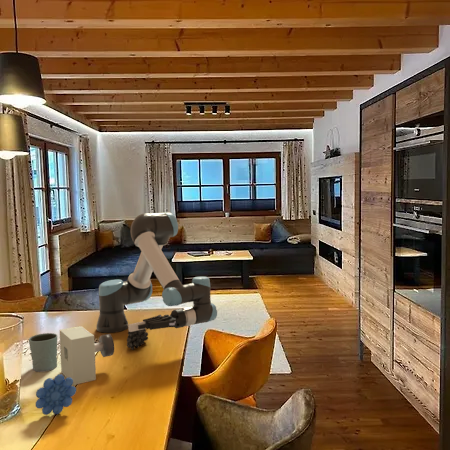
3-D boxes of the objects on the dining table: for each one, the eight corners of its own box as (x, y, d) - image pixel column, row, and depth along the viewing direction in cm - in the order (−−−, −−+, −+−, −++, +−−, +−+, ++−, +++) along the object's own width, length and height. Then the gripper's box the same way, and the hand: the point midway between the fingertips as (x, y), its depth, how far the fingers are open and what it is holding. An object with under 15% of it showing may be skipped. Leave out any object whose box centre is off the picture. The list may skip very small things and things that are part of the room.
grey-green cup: (64, 364, 180) (62, 334, 179) (46, 374, 170) (44, 342, 170) (43, 361, 183) (41, 332, 182) (24, 371, 174) (22, 339, 173)
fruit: (133, 331, 191) (146, 320, 206) (115, 336, 193) (130, 325, 208) (140, 350, 191) (152, 338, 206) (122, 356, 193) (136, 343, 208)
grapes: (77, 404, 145) (75, 367, 144) (77, 414, 138) (75, 375, 137) (37, 410, 141) (35, 372, 140) (35, 420, 135) (33, 380, 134)
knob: (78, 358, 172) (77, 337, 171) (107, 352, 178) (106, 331, 178) (85, 364, 165) (84, 342, 165) (114, 357, 172) (113, 336, 171)
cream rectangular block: (61, 371, 172) (59, 329, 171) (82, 367, 177) (81, 326, 176) (73, 385, 160) (71, 339, 159) (95, 379, 164) (94, 335, 163)
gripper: (190, 329, 186) (136, 341, 173) (175, 323, 197) (123, 333, 183) (190, 311, 186) (135, 321, 172) (174, 306, 196) (122, 315, 183)
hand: (129, 328), depth 178 cm, fingers closed
